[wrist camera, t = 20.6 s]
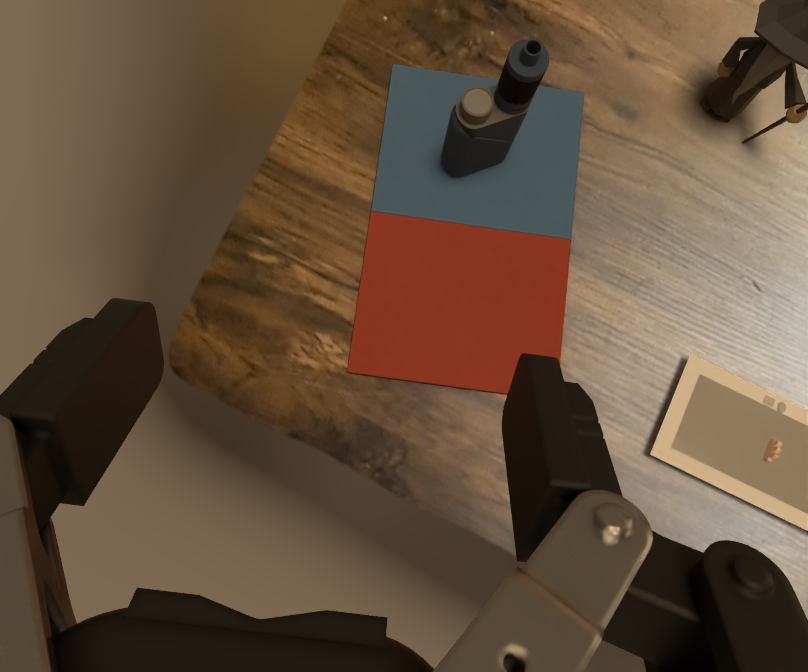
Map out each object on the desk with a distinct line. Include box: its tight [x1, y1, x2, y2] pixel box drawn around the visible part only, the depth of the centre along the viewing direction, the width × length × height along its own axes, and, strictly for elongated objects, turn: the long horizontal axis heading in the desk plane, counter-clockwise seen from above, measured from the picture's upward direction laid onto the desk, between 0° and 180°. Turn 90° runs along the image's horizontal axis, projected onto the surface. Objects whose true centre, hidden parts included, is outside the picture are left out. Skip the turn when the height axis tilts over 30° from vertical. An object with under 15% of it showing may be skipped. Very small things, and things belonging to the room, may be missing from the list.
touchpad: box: [650, 354, 808, 531], centre depth 39 cm, size 8×15×2 cm, turn 64°
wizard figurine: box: [700, 0, 808, 144], centre depth 39 cm, size 8×6×12 cm
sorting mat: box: [347, 64, 584, 394], centre depth 42 cm, size 15×24×1 cm, turn 172°
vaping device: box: [441, 39, 549, 177], centre depth 36 cm, size 3×5×12 cm, turn 111°
